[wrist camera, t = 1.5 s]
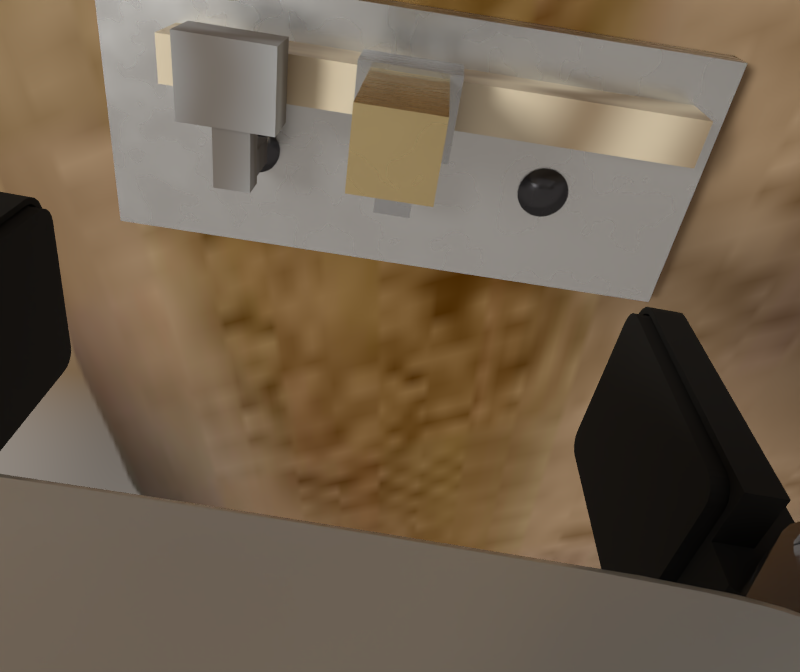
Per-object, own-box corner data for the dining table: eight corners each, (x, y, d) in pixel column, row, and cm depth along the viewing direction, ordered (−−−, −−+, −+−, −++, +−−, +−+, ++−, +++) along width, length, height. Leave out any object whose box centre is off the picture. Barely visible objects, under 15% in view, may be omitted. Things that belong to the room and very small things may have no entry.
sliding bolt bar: (700, 89, 28) (740, 120, 24) (649, 221, 32) (677, 267, 28) (175, 4, 28) (129, 22, 24) (183, 148, 31) (144, 184, 27)
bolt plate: (735, 55, 29) (748, 63, 28) (641, 287, 36) (649, 303, 34) (105, -46, 28) (88, -43, 27) (132, 209, 35) (119, 221, 34)
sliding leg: (462, 53, 28) (466, 113, 20) (438, 192, 31) (432, 288, 24) (370, 38, 28) (337, 93, 20) (355, 179, 31) (323, 271, 24)
